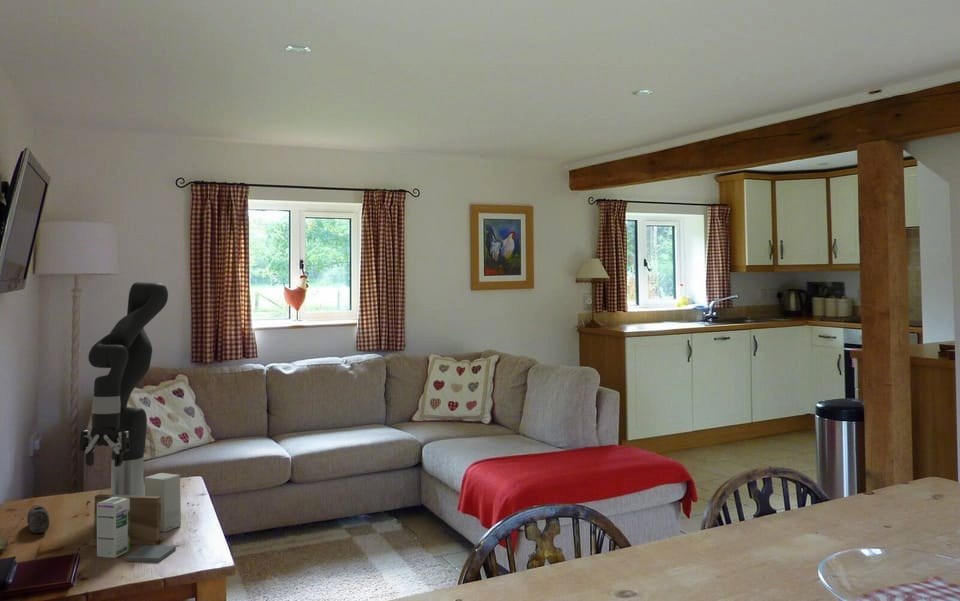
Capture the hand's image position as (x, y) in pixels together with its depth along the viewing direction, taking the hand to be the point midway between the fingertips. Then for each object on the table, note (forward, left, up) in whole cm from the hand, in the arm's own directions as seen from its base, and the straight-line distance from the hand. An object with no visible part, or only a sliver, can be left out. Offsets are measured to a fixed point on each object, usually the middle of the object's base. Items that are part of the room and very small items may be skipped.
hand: (103, 465), depth 211 cm
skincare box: (-1, +18, -18) cm, 26 cm away
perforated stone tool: (+4, -18, -19) cm, 26 cm away
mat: (+21, +26, -18) cm, 38 cm away
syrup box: (+21, +16, -18) cm, 32 cm away
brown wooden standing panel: (+12, +15, -18) cm, 26 cm away
